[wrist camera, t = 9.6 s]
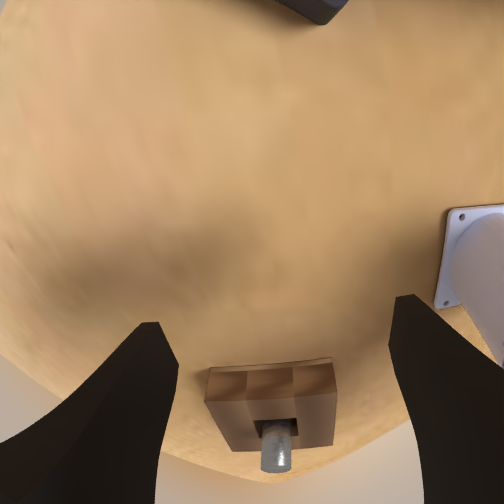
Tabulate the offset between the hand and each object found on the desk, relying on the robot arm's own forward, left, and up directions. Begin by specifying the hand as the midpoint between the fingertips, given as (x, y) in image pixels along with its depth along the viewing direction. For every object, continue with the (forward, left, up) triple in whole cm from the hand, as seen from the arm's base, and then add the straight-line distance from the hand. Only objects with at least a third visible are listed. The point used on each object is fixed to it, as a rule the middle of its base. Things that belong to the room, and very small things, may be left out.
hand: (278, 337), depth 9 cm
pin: (+2, +18, -9) cm, 20 cm away
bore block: (+2, +18, -10) cm, 21 cm away
